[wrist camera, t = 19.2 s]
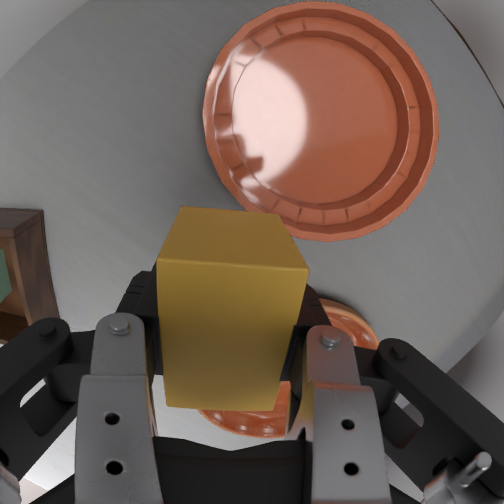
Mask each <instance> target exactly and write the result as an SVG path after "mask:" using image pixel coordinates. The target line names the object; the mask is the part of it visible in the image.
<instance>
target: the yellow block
mask: <svg viewBox="0 0 504 504" xmlns="http://www.w3.org/2000/svg"><path fill="white" fill-rule="evenodd" d="M156 269H157V300H158V316H159V329H160V343H161V355H162V366H163V380H164V389H165V397H166V404H167V406H168V407H178V408H189V409H204V410H224V411H272V410H273V408H274V405H275V401H276V398H277V394H278V391H279V387H280V384H281V381H279V380H280V376H281V372H282V369H283V365H284V361H285V357H286V354H287V350H288V346H289V342H290V338H291V334H292V330H293V326H294V325H296V324H297V320H298V316H299V312H300V308H301V304H302V300H303V295H304V291H305V287H306V283H307V278H308V274H309V268H308V266H307V265H306V263H305V261H304V259H303V257H302V255H301V254H300V252H299V250H298V248H297V246H296V245H295V243H294V241H293V239H292V238H291V236H290V234H289V232H288V230H287V229H286V227H285V225H284V223H283V222H282V220H281V218H280V216H279V215H278V214H270V213H259V212H249V211H238V210H226V209H214V208H201V207H188V206H182V207H181V209H180V211H179V213H178V215H177V217H176V219H175V221H174V223H173V225H172V227H171V229H170V231H169V233H168V235H167V238H166V240H165V242H164V244H163V246H162V248H161V250H160V253H159V255H158V257H157V259H156Z"/></svg>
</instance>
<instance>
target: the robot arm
mask: <svg viewBox="0 0 504 504" xmlns="http://www.w3.org/2000/svg"><path fill="white" fill-rule="evenodd" d="M154 374H155V375H163V366H162V355H161V343H160V329H159V316H158V300H157V269H156V262H155V264H154V266H153V268H152V271H151V272H150V271H141V272H140V273H138V274H137V275H135V276H134V277H133V278H132V280H131V282H130V284H129V287H128V288H127V290H126V293H125V294H124V296H123V298H122V300H121V302H120V304H119V306H118V308H117V310H116V312H115V313H113V314H110V315H107V316H105V317H103V318H102V319H101V320H100V321H99V322H98V324H97V326H96V330H92V331H84V332H70V328H69V325H68V323H67V322H66V321H64V320H62V319H60V318H55V317H48V318H43V319H40V320H38V321H36V322H34V323H33V324H32V325H30V326H29V327H27V328H26V329H25V330H23V331H22V332H21V333H19V334H18V335H17V336H15V337H14V338H13V339H11V340H10V341H9V342H7V343H6V344H5V345H3V346H2V347H1V348H0V504H20V503H21V496H20V486H19V481H20V480H21V479H22V478H23V476H24V475H25V474H26V473H27V472H28V471H29V469H30V468H31V467H32V466H33V465H34V464H35V463H36V461H37V460H38V459H39V458H40V457H41V456H42V455H43V453H44V452H45V451H46V450H47V449H48V448H49V447H50V446H51V444H52V443H53V442H54V441H55V440H56V439H57V438H58V437H59V435H60V434H61V433H62V432H63V431H64V430H65V429H66V428H67V426H68V425H69V424H70V423H71V422H72V421H73V420H74V419H75V417H76V416H77V421H76V437H75V473H74V474H73V475H71V476H70V477H69V478H67V479H66V480H64V481H63V482H61V483H60V484H58V485H57V486H55V487H54V488H52V489H51V490H49V491H48V492H47V493H45V494H43V495H42V496H40V497H39V498H37V499H36V500H34V501H32V502H31V503H29V504H503V502H504V423H503V422H502V421H500V420H499V419H498V418H497V417H496V416H495V415H494V414H492V413H491V412H490V411H489V410H488V409H486V408H485V407H484V406H483V405H482V404H481V403H480V402H478V401H477V400H476V399H475V398H474V397H473V396H471V395H470V394H469V393H468V392H467V391H465V390H464V389H463V388H462V387H461V386H460V385H458V384H457V383H456V382H455V381H454V380H453V379H451V378H450V377H449V376H448V375H447V374H445V373H444V372H443V371H442V370H441V369H439V368H438V367H437V366H436V365H435V364H433V363H432V362H431V361H430V360H428V359H427V358H426V357H425V356H424V355H422V354H421V353H420V352H419V351H417V350H416V349H415V348H414V347H413V346H411V345H410V344H409V343H407V342H405V341H403V340H400V339H395V338H388V339H384V340H382V341H381V342H380V343H379V345H378V347H377V349H376V350H373V349H368V348H363V347H358V346H354V345H353V342H352V339H351V337H350V336H349V335H348V334H347V333H346V332H344V331H343V330H341V329H339V328H337V327H334V326H332V324H331V322H330V320H329V318H328V316H327V314H326V312H325V310H324V308H323V307H322V304H321V302H320V300H319V298H318V296H317V294H316V292H315V290H314V289H313V288H311V287H310V286H309V285H308V284H307V283H306V287H305V291H304V295H303V300H302V304H301V308H300V312H299V316H298V320H297V324H296V325H294V326H293V330H292V334H291V338H290V342H289V346H288V350H287V354H286V357H285V361H284V365H283V369H282V372H281V376H280V380H279V381H290V385H291V388H290V391H289V394H288V402H287V415H286V426H285V437H284V441H273V442H269V443H265V444H261V445H257V446H253V447H248V448H244V449H239V450H234V451H227V450H223V449H218V448H214V447H210V446H207V445H203V444H199V443H196V442H192V441H189V440H185V439H178V438H168V437H160V436H158V432H157V425H156V417H155V409H154V401H153V392H152V383H153V379H154ZM42 379H44V381H45V385H44V386H43V387H42V388H41V389H40V390H39V391H38V392H36V393H35V394H34V395H33V396H32V397H31V398H30V399H29V400H28V401H27V402H26V403H25V404H24V405H23V406H22V407H21V408H20V402H21V400H22V398H23V396H24V395H25V394H26V393H27V392H29V391H30V390H31V389H32V388H33V387H34V386H35V385H36V384H37V383H38V382H39V381H40V380H42ZM400 393H401V394H402V395H403V396H404V397H405V398H406V399H407V400H408V401H409V402H410V403H411V404H412V405H414V406H415V407H416V408H417V409H418V410H419V411H420V412H421V414H422V415H423V418H424V423H423V426H422V427H420V426H418V425H417V424H416V423H415V422H414V421H413V420H412V419H411V418H410V417H409V416H408V415H407V414H406V413H405V412H404V411H403V410H402V409H401V408H400V407H399V406H398V405H397V404H396V403H395V400H396V398H397V397H398V395H399V394H400ZM385 453H386V454H387V455H388V456H389V457H390V458H391V459H392V460H393V462H394V463H395V464H396V465H397V466H398V467H399V468H400V469H401V470H402V471H403V472H404V473H405V474H406V475H407V476H408V477H409V478H410V479H411V481H412V482H413V483H414V484H415V485H416V486H418V488H419V489H420V490H421V491H422V492H423V493H424V499H423V500H422V501H421V503H420V502H418V501H416V500H415V499H413V498H411V497H410V496H408V495H407V494H405V493H403V492H402V491H400V490H399V489H397V488H396V487H394V486H392V485H391V484H389V479H388V472H387V465H386V457H385Z"/></svg>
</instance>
